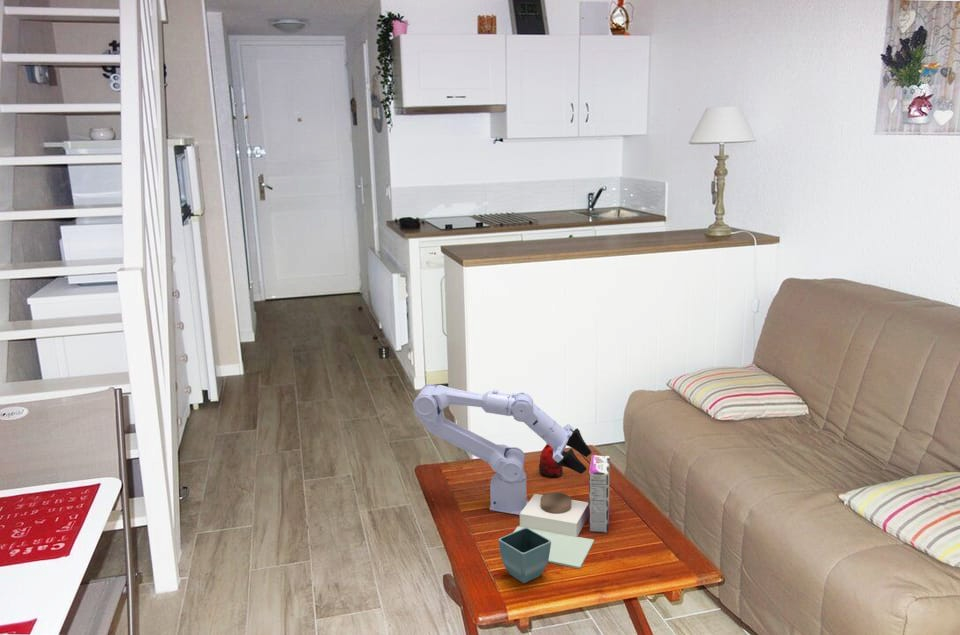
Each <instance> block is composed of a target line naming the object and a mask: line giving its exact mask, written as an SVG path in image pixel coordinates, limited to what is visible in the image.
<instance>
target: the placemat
mask: <svg viewBox="0 0 960 635" xmlns="http://www.w3.org/2000/svg"><path fill="white" fill-rule="evenodd" d="M522 528H525V527H522V526H520V525H517V526H516V528H515V530H514V531H513V532H515V531H518V530H520V529H522ZM526 528H527V527H526ZM529 529H531V530H532V531H534V532H536V533H538V534H540V535H542V536H543V537H545V538H547V539H549V540H551V547H550V554H549V560H548V563H549V564H555V565H559V566H564V567H570V568H575V569H578V570H579V569H581V568H582V566H583V564H584V562H585V560H586V558H587V556H588V555H589V553H590V550H591V549H592V547H593V544H594V543H595V539H592V538H587V537H580V536H578V537H576V536H571V535H565V534H560V533H554V532H549V531H544V530H538V529H533V528H529Z"/></svg>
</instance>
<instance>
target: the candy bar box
mask: <svg viewBox="0 0 960 635" xmlns="http://www.w3.org/2000/svg"><path fill="white" fill-rule="evenodd" d="M590 456H591V457H590V465H589V472H588V478H589V479H588V480H589V481H588V483H589V484H588V493H589V496H588V497H589V499H588V500H589V502H588V503H589V517H588V519H589V521H588V522H589V523H588V524H589V527H588V528H589V530H588V531H589V532H591V533H604V534H605V533H607V534H608V533H609V522H610V455H597V454H592V455H590Z"/></svg>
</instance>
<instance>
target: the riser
mask: <svg viewBox="0 0 960 635" xmlns="http://www.w3.org/2000/svg"><path fill="white" fill-rule="evenodd" d="M543 495H544V494H538V493H534V494H533V496H531V498H530V499H529V500H528V501H529V502H528V503H527V505H526V506H525V507H524V509H523V510H522V511H521V513H520V515H519V526H522V527H527V528H533V529H538V530H544V531H549V532H554V533H560V534H565V535H571V536H576V537H579V535H580V534H581V531H582V529H583V528H584V526H585V525H586V523H587V521H588V519H589V502H587V501H581V500H577V499H576V500H575V499H571V509H570V510H569V511H568V512H565V513H561V514H553V513H548V512H545V511H544V510H542V509H541V497H542V496H543Z"/></svg>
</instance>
